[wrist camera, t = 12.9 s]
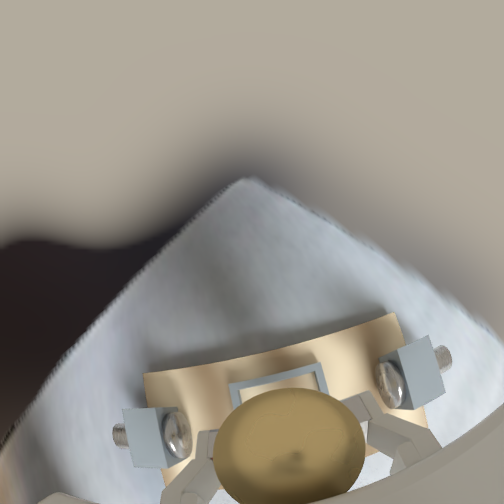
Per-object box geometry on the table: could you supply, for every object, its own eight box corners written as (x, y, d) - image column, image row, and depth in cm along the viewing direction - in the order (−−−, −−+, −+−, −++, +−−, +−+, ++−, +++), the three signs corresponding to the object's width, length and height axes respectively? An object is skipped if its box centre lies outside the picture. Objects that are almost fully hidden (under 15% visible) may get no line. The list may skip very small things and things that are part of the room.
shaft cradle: (154, 485, 18) (123, 501, 12) (133, 376, 24) (98, 368, 18) (437, 417, 18) (471, 418, 13) (405, 310, 24) (431, 287, 19)
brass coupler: (263, 458, 14) (231, 525, 5) (248, 398, 16) (199, 403, 7) (331, 442, 13) (376, 492, 5) (315, 381, 16) (346, 368, 7)
